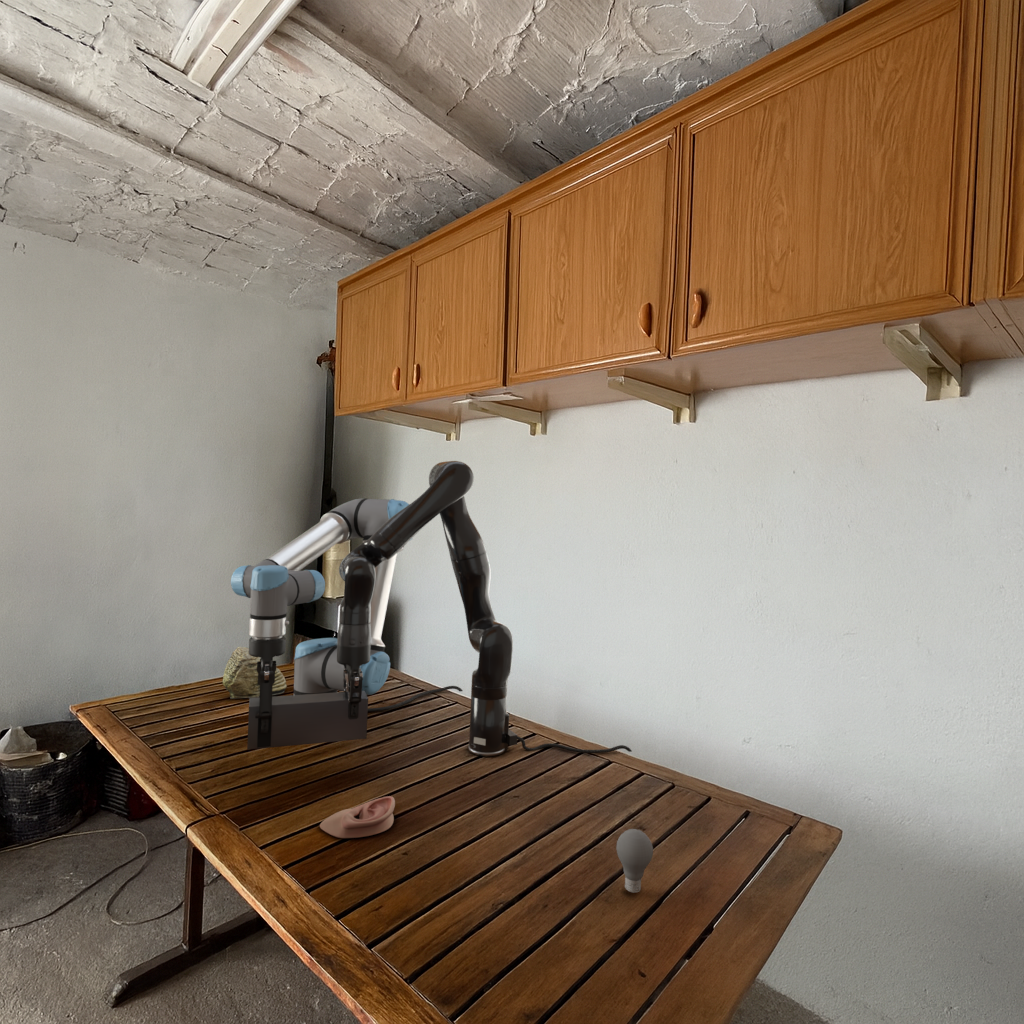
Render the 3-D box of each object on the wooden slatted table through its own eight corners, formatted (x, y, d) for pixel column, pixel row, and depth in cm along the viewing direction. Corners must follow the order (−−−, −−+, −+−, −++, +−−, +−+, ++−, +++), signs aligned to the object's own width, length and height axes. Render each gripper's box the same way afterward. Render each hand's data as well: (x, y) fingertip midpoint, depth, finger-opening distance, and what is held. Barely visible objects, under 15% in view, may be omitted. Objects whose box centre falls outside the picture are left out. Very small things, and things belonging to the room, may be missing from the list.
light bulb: (610, 879, 108) (613, 822, 108) (644, 879, 109) (647, 822, 109) (619, 902, 102) (622, 840, 102) (655, 901, 103) (658, 840, 103)
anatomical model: (312, 812, 119) (340, 786, 130) (311, 833, 119) (340, 805, 130) (378, 823, 116) (401, 795, 127) (377, 844, 116) (401, 814, 127)
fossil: (218, 695, 195) (220, 647, 195) (278, 685, 208) (279, 640, 207) (228, 703, 189) (230, 653, 188) (289, 692, 201) (290, 645, 201)
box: (247, 749, 136) (248, 706, 135) (248, 739, 141) (249, 698, 141) (366, 738, 145) (368, 698, 145) (362, 729, 150) (364, 690, 150)
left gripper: (287, 645, 132) (283, 755, 132) (284, 627, 149) (281, 724, 150) (248, 647, 129) (244, 759, 129) (250, 628, 147) (246, 727, 147)
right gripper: (375, 648, 141) (372, 723, 141) (366, 634, 154) (363, 702, 154) (340, 649, 138) (337, 726, 138) (334, 635, 151) (331, 705, 152)
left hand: (263, 740), depth 140 cm, fingers closed on box, 6 cm apart
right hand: (351, 713), depth 146 cm, fingers closed on box, 6 cm apart
